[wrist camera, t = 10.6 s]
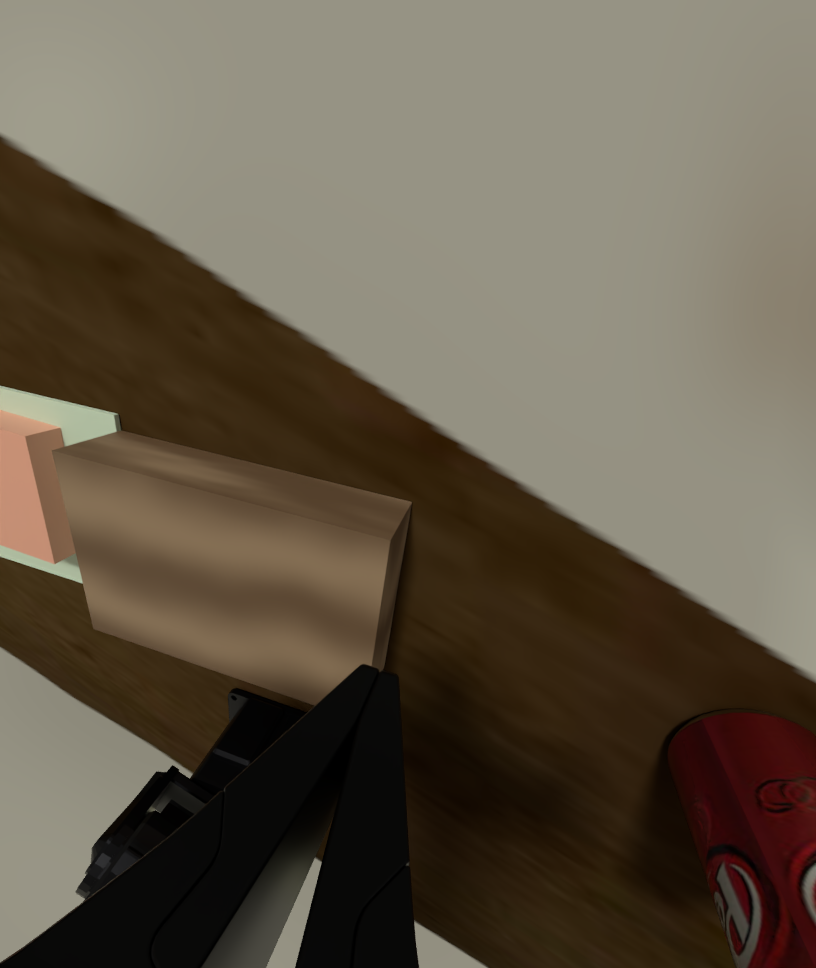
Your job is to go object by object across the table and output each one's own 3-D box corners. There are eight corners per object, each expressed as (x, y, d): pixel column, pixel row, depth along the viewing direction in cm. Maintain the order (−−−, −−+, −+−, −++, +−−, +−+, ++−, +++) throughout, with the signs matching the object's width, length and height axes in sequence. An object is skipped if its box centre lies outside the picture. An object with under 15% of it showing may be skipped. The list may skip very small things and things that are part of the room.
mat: (147, 601, 29) (144, 603, 29) (-5, 551, 32) (-9, 553, 31) (118, 413, 24) (113, 415, 23) (-66, 370, 26) (-72, 370, 26)
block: (-18, 538, 28) (15, 524, 29) (54, 564, 27) (83, 548, 28) (-58, 411, 24) (-18, 404, 26) (25, 436, 23) (60, 427, 25)
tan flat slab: (384, 666, 26) (363, 722, 22) (145, 590, 29) (93, 628, 25) (412, 502, 21) (390, 540, 17) (121, 430, 24) (51, 450, 20)
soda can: (714, 810, 24) (877, 1216, 13) (634, 731, 23) (736, 1093, 12) (855, 774, 21) (1222, 1269, 10) (768, 681, 20) (1061, 1107, 9)
